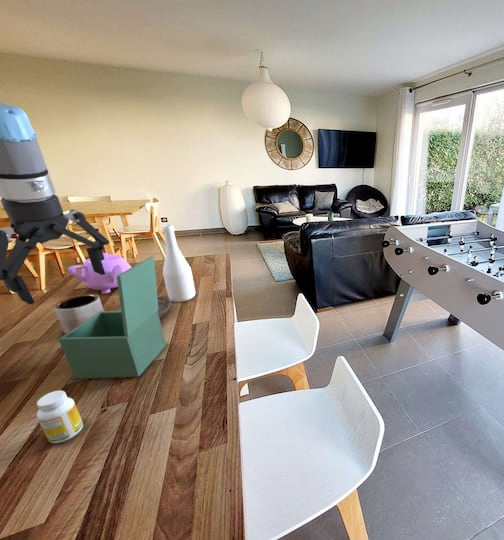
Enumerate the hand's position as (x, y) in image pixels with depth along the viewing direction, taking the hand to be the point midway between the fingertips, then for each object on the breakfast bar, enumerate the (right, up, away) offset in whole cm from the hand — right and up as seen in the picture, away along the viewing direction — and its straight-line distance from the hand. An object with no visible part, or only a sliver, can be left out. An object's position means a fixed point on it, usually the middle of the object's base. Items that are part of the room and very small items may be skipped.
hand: (67, 285), depth 65 cm
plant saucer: (-11, -13, +38) cm, 42 cm away
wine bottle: (-6, -8, +52) cm, 53 cm away
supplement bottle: (+5, -31, -5) cm, 32 cm away
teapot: (-39, -5, +56) cm, 68 cm away
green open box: (0, -22, +16) cm, 27 cm away
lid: (+9, -3, +9) cm, 13 cm away
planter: (-25, -16, +30) cm, 42 cm away
